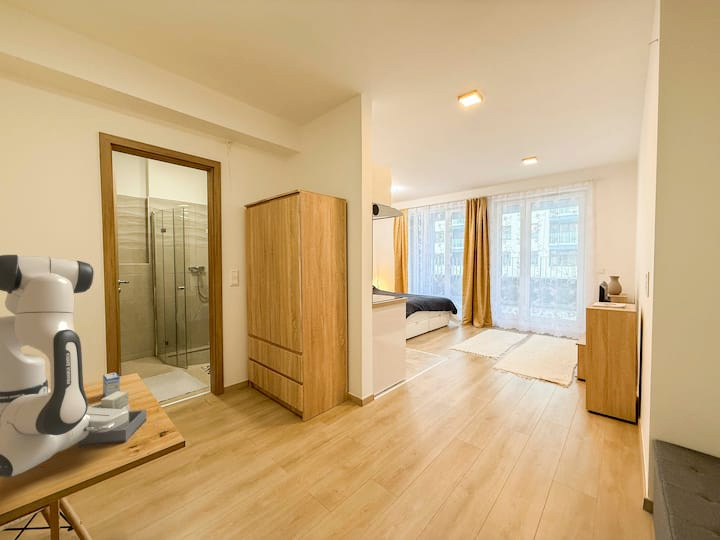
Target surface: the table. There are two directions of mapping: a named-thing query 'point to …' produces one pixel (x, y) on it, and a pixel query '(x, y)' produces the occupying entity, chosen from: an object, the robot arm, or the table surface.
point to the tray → (116, 431)
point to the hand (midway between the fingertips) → (115, 405)
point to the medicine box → (110, 383)
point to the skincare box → (116, 403)
